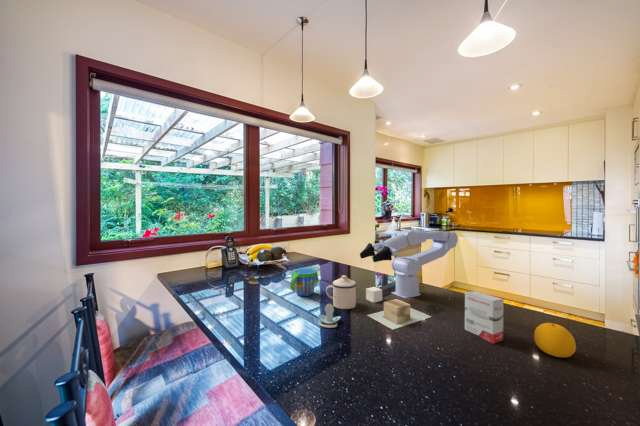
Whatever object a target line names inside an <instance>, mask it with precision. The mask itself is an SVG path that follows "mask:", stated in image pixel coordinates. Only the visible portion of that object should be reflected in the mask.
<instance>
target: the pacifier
mask: <svg viewBox="0 0 640 426" xmlns="http://www.w3.org/2000/svg"><path fill="white" fill-rule="evenodd" d="M334 311H335V308H334V306H333V304H332V303H327V304H326V305H325V306H324V312H325V314H326V315H324V314H321V313H320V314H318V316H317V318H318V321H319V322H318V325H319V327H322V328H328V329H334V328H337V327H338V326H339V323H337V322H339V320H341V317H342V316H339V315H338V316H334V315H333V314H334Z"/></svg>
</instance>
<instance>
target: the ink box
mask: <svg viewBox="0 0 640 426" xmlns="http://www.w3.org/2000/svg"><path fill="white" fill-rule="evenodd" d="M504 303H505V302H504V299H503V298H500V297H496V296H494V295H489V294H486V293H482V292H479V291H476V290H474V291H469V292H468V291H467V292H465V293H464V330H465V331H468V332H470V333H472V334H474V335H476V337H477V338H479V339H481V340H484V341H485V342H488V343H491V344H493V345H494V344H496V343H499V342H502V341H504Z"/></svg>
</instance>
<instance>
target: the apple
mask: <svg viewBox="0 0 640 426" xmlns="http://www.w3.org/2000/svg"><path fill="white" fill-rule="evenodd" d="M533 333H534V335H533V339H534V342H535V344H536V346H537V347H538V348H539V349H540V351H543V352H544V353H545V354H548V355H550V356H553V357H556V358H563V359H564V358H569V357H572V355H574V353H575V352H576V349H577V345H576V340H575V338H574V336H573V334H572V333H571V332H570V331H569V330H568V329H566V328H565V326H562V325H560V324H557V323H552V322H544V323H541V324H539V325H538V326H536V328H535V329H534V332H533Z"/></svg>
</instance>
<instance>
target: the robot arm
mask: <svg viewBox="0 0 640 426" xmlns="http://www.w3.org/2000/svg"><path fill="white" fill-rule="evenodd" d="M427 240H431V248H428V249H426V250H423V251H421V252H418V253H416V254H412V255H409V256H401V257H400V256H397V255H398V251H399V250H401V249H403V248H405V247H407V246H408V245H409V246H415V245H416V244H422V243H423V244H424V243H426V242H427ZM458 240H459V237H458V234H457V233H456V232H453V231H452V232H450V231H443V230H430V231H425V230H424V229H422V228H416V229H415V230H414V229H409V230H399V231H398V232H397V234H396V235H394V236H392V237H390V238H388V239H385V240H383V239H380V240H379V242H377V243H375V244H372V243H371V242H369V243H367V245H366V247H365V248H364V249H363V250H362V251H361V252H360V253H359V256H360V259H366V258H370V257H371V259H372V262H373V263H377V262H382V261H391V268H392V270H393V271H394V274H395V291H391V294H393V295H396V296H398V297H401V298H404V299H407V298H414V297H418V296H421V293H420V282H419V281H420V279H419V276H418V275H417V273H418V272H419V271H421V267H422V266H424V265H426V264H430V263H431V262H433V261H436V260H438V259H441V258H443V257H445V255H446V254H447V253H449V251H450V250H452V249H453V248H456V247H457V244H458ZM392 257H394V258H392Z"/></svg>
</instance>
